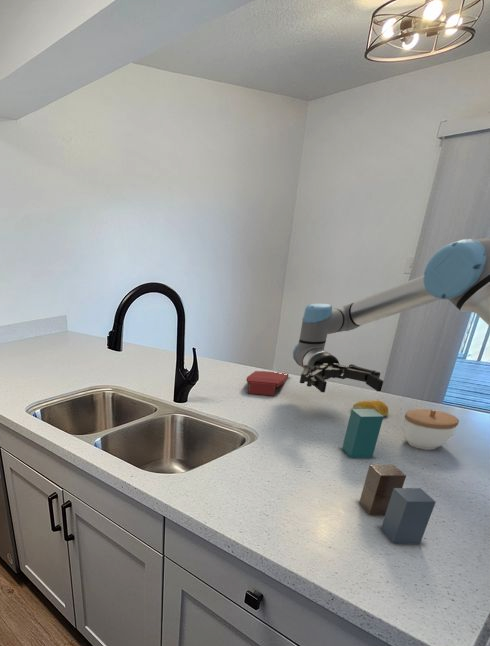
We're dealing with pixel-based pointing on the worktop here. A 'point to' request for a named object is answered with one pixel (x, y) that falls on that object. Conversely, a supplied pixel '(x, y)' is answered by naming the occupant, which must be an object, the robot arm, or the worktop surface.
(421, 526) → the slate block
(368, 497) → the walnut block
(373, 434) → the teal block
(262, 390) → the carton
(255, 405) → the worktop surface
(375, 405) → the bread roll
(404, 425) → the trinket box
